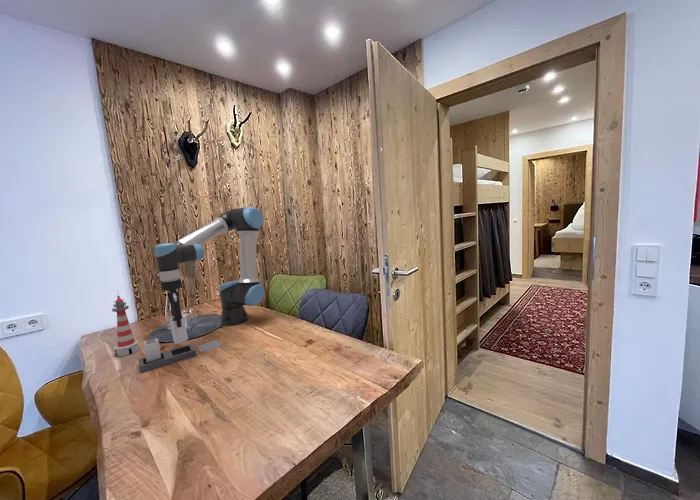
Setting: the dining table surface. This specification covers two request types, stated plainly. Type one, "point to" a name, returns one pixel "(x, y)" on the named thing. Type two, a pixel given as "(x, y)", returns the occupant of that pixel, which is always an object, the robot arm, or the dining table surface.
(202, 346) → the mat
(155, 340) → the silver square post
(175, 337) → the grey square peg
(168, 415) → the dining table surface
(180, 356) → the rail
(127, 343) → the miniature lighthouse
